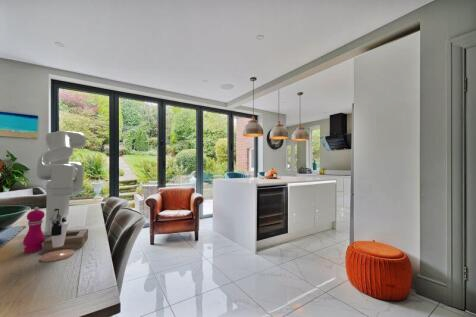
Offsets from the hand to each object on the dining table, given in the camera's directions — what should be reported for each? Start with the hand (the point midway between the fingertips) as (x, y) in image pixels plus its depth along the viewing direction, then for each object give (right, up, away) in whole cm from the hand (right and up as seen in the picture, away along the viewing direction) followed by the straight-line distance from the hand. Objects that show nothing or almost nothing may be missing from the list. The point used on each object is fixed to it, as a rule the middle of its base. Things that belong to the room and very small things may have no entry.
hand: (58, 232), depth 90 cm
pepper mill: (-17, -10, +6) cm, 21 cm away
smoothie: (0, -6, 0) cm, 6 cm away
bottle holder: (-7, -11, +14) cm, 19 cm away
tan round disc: (0, -10, -1) cm, 10 cm away
